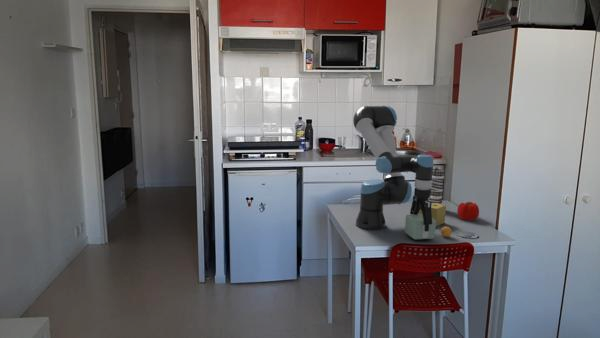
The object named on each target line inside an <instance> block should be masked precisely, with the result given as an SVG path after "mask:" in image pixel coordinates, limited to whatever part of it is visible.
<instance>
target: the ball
mask: <svg viewBox="0 0 600 338" xmlns="http://www.w3.org/2000/svg"><path fill="white" fill-rule="evenodd" d="M440 234H441V236H443V237H444V238H448V237H450V236H451V235H452V229H451V227H449V226H443V227H441V229H440Z"/></svg>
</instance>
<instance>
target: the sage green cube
mask: <svg viewBox="0 0 600 338" xmlns="http://www.w3.org/2000/svg"><path fill="white" fill-rule="evenodd" d="M423 223H424V220H423V215H422V214H419V213H418V214H406V215H405V225H404V233H405V234H407V236H409V237H410V238H412V239H413V240H425V239H426V240H427V239H430V240H431V239H435V238H436V227H437V226H436V220H435V219H433V218H432V224H430V225H429V232H428V238H422V230H423Z"/></svg>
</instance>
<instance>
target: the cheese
mask: <svg viewBox="0 0 600 338" xmlns="http://www.w3.org/2000/svg"><path fill="white" fill-rule="evenodd" d="M446 211H447V205H445V204H443V203H441V204H438V203H432V205H431V212H432V218H433V219H435V220H436V227H438V226H441V225H442V224H445V221H446ZM418 214H422V211H421V209H420V211H419V213H418Z"/></svg>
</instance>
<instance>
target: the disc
mask: <svg viewBox="0 0 600 338" xmlns="http://www.w3.org/2000/svg"><path fill="white" fill-rule="evenodd" d="M474 234H476V233H475V232H471V231H459V232H457V233H456V235H457V236H458V237H461V238H463V237H464V238H463V239H467V238H470V239H469V240H472V239H471V237H472V236H475V235H474Z"/></svg>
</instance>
